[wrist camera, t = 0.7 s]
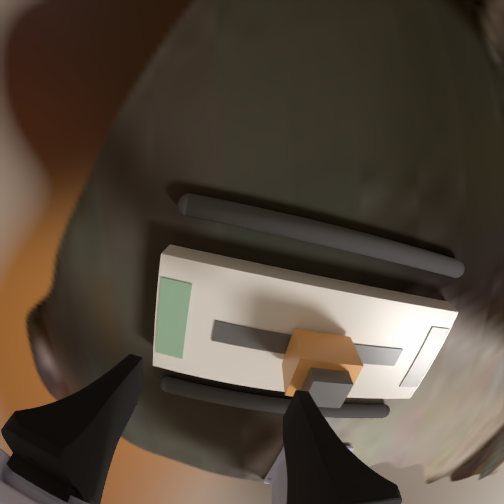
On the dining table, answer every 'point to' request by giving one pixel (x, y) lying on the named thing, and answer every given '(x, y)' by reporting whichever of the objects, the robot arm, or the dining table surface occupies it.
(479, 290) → the dining table surface
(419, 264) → the dressed cords
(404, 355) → the white slider switch panel
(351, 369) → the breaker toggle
